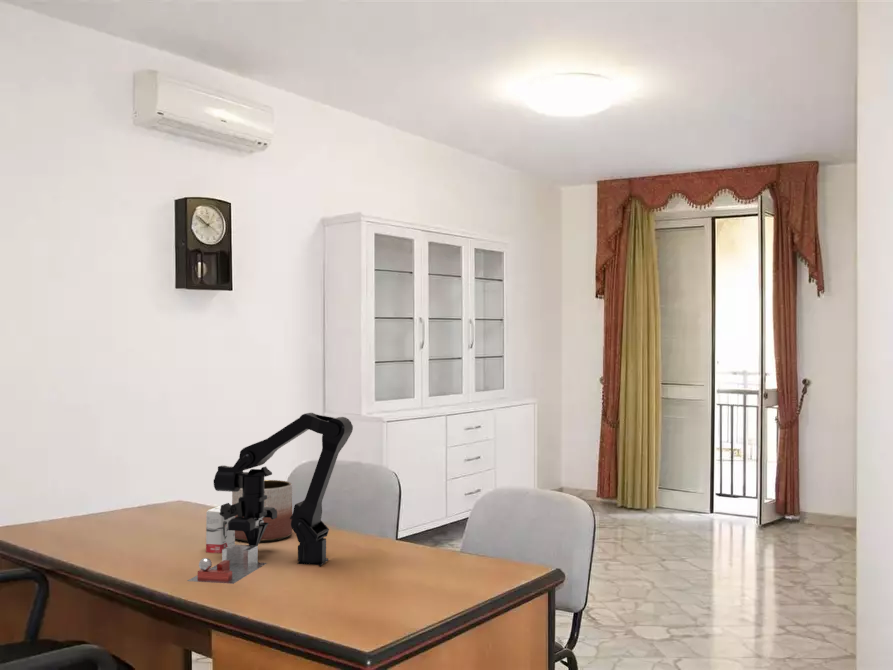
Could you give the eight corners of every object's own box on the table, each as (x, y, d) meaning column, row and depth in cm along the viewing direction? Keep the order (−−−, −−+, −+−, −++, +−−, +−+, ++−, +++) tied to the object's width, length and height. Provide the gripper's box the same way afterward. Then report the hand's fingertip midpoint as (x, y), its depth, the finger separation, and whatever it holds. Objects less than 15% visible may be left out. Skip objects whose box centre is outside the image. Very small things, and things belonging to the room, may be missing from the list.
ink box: (221, 555, 232) (221, 511, 232) (205, 554, 233) (205, 511, 233) (235, 547, 240) (235, 506, 240) (219, 547, 241) (220, 505, 241)
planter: (280, 544, 244) (280, 489, 244) (221, 542, 247) (221, 488, 247) (300, 531, 262) (300, 480, 262) (245, 529, 264) (245, 479, 265)
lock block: (257, 562, 221) (257, 545, 221) (247, 568, 215) (247, 550, 215) (232, 561, 222) (232, 544, 222) (222, 567, 216) (222, 549, 216)
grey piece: (267, 564, 221) (267, 543, 221) (233, 585, 201) (233, 562, 201) (224, 562, 223) (224, 541, 223) (186, 582, 204) (186, 559, 204)
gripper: (240, 486, 238) (240, 542, 237) (209, 497, 219) (208, 558, 219) (277, 487, 235) (277, 543, 235) (249, 498, 217) (249, 560, 217)
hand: (253, 551), depth 227 cm, fingers closed
